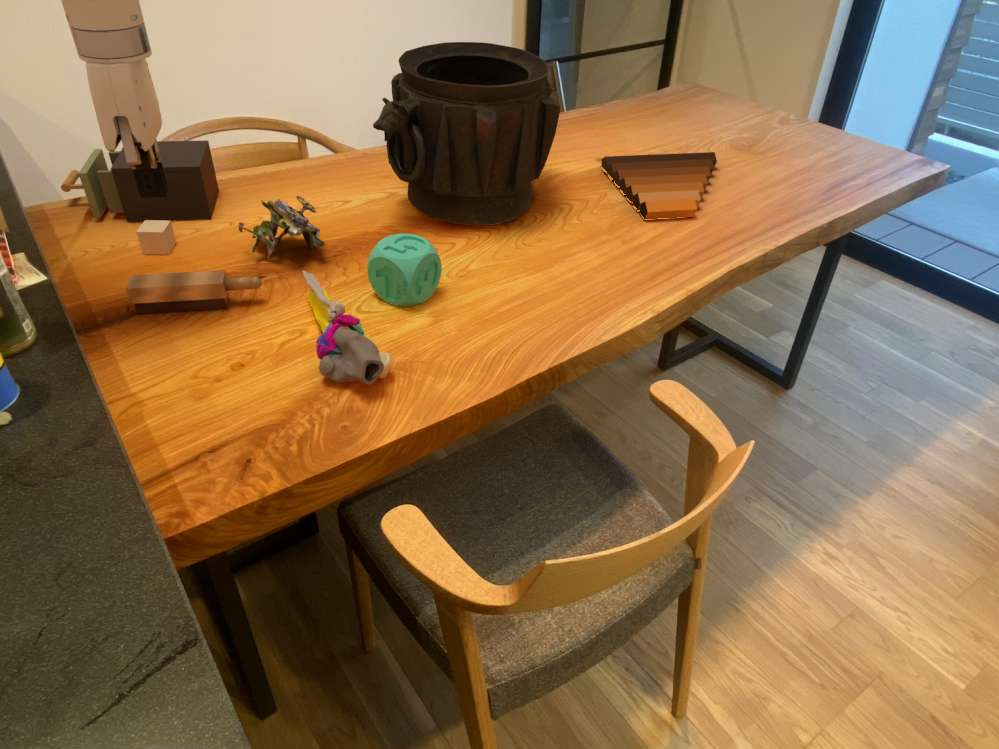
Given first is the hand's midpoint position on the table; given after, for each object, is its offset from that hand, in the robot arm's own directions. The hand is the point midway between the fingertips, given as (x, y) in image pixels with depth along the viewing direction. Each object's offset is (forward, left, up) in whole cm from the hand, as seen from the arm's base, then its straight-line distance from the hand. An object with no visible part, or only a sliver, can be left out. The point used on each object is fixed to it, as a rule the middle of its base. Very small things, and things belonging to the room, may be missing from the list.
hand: (155, 194), depth 89 cm
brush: (+2, 0, -17) cm, 17 cm away
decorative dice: (+32, 0, -17) cm, 36 cm away
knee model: (+22, -12, -17) cm, 30 cm away
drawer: (-14, +33, -16) cm, 39 cm away
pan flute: (+90, +32, -17) cm, 97 cm away
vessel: (+47, +31, -17) cm, 59 cm away
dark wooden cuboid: (-6, +33, -17) cm, 38 cm away
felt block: (-7, +16, -15) cm, 23 cm away
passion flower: (+14, +14, -17) cm, 26 cm away
